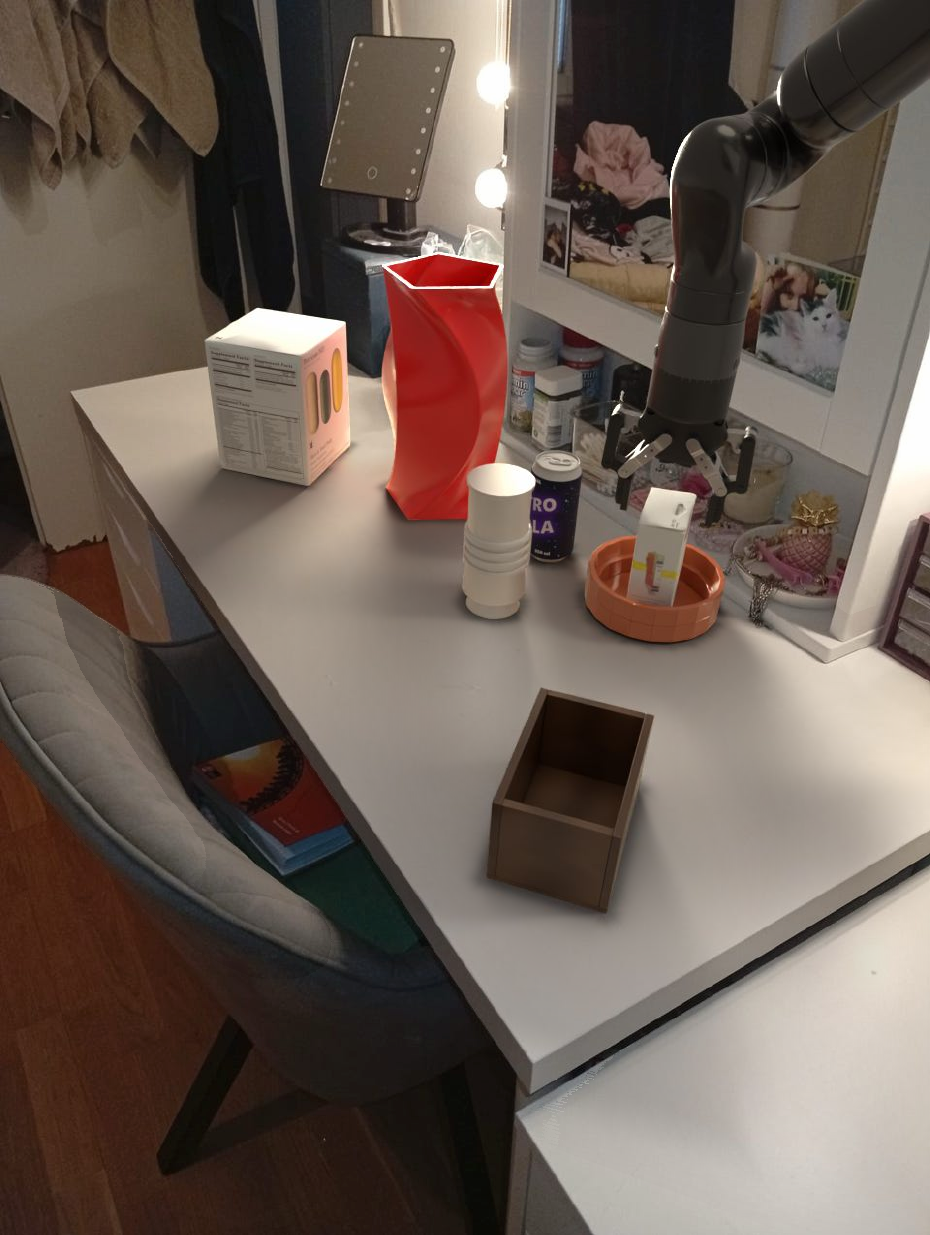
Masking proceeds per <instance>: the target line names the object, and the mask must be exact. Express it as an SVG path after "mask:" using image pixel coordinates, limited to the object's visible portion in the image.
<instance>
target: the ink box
mask: <svg viewBox="0 0 930 1235" xmlns="http://www.w3.org/2000/svg"><path fill="white" fill-rule="evenodd" d="M697 497H698V495H697V494H695V493H693V492H686V491H678V490H673V489H672V490H671V489H665V488H660V487H654V486H651V488H650V491H649V493H648V496H647V499H646V501H645V503H644V506H643V509H642V511H641V514H640V516H639V519H638V522H637V530H636V535H637V536H636V543H635V549H634V555H633V561H632V567H631V573H630V579H629V586H628V592H627V598H628V599H630V600H632V601H635V602H639V603H643V604H648V605H653V606H662V607H673V603H674V598H675V594H676V589H677V585H678V581H679V576H680V572H681V567H682V562H683V557H684V552H685V548H686V543H687V542H688V536H689V533H690V527H691V523H692V516H693V511H694V506H695V505H696V500H697ZM687 544H688V543H687Z"/></svg>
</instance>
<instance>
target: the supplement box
mask: <svg viewBox="0 0 930 1235" xmlns="http://www.w3.org/2000/svg"><path fill="white" fill-rule="evenodd" d="M204 349H205V355H206V356H205V357H206V363H207V370H208V378H209V380H208V381H209V386H210V395H211V402H212V410H213V416H214V426H215V432H216V440H217V449H218V456H219V465H220V468H221V469H224V470H228V471H233V472H239V473H243V474H249V475H252V476H257V477H261V478H262V477H263V478H267V479H272V480H276V481H281V482H286V483H291V484H295V485H301V486H305V487H310V486H311V485H312V484H313V483H314V482H315V481H316V480H317V479H318V478H319V477H320V476H321V475H322V474H323V473H324V472H325V471H326V470H327V469H328V468H329V467H330V466H331V465H332V464H333V463H334V462H335V461H336V460H338V458H339V457H341V455H342V454H344V453H345V451H346V450H347V449H348V448H350V446H351V427H350V424H351V423H350V402H349V381H348V379H349V376H348V352H347V350H348V349H347V326H346V321H342V320H337V319H329V318H323V317H316V316H312V315H311V316H310V315H305V314H297V313H292V312H287V311H279V310H273V309H266V308H260V307H257V308H255V309H253V310H252V311H250V312H248V313H247V314H245V315H243V316H242V317H240V318H239V319H236V320H235V321H233V322H231V323H229V324H228V325H227V326H226V327H224V328H222V329H221V330H219V331H217V332H216V333H214V334H212V335H210V336H209V337H208V338H206V339H204Z"/></svg>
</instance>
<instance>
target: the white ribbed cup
mask: <svg viewBox="0 0 930 1235" xmlns="http://www.w3.org/2000/svg"><path fill="white" fill-rule="evenodd" d="M467 485H468V487H469V501H468V519H466V521H465V523H464V525H463V532H464V533H463V546H462V548H463V554H462V563H463V564H464V570H463V577H462V583H461V587H462V588H461V590H462V591H463V593H464V594H465V596H466V599H465V606H466V608H467V610H468V611H470V612H471V613H472V614H474V615H476V616H477V617H480V618H482V619H483V618H484V619H488V620H500V619H505V618H509V617H511V616H513V615H514V614H516V613H517V612H518V611H519V609H520V606H521V603H520V602H521V601H520V600H521V599H522V598H523V596H525V593H526V582H527V581H526V569H527V568H528V565H529V564H530V558H531V554H530V550H531V539H532V527H531V525H530V523H529V518H530V507H531V495H532V491H533V490H534V487H535V478H534V476H533V475H532V474H531V471H529V470H527V469H525V468H523V467H521V466H518V465H514V464H509V463H500V462H497V463H496V462H495V463H493V464H485V465H482V466H478V467H476V468H474V469H472V470H471V471H470V472H469V473H468V475H467Z"/></svg>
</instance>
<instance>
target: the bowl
mask: <svg viewBox="0 0 930 1235" xmlns="http://www.w3.org/2000/svg"><path fill="white" fill-rule="evenodd" d="M636 536H637V534H635V535H628V536H627V535H626V536H621V537H619V536H618V537H616V538H614V539H611V540H608V541H605V542H603V543H602V544H601V545H600V546H598V547H597V548H596V549H595V550H593V552H592V554H591V556H590V558H589V559H588V564H587V570H586V578H585V586H584V592H583V593H584V600H585V606H586V607H587V609H588V610H589V611H590V613H591V614H592V616H593V617H594V618H595V619H596V620H597V621H599V622H600V623H601V624H603V625H604V626H605V627H607V629H610V630H612V631H615V632H617V633H619V634H621V635H624V636H626V637H629V638H633V639H636V640H641V641H645V642H649V643H650V642H652V643H676V642H682V641H688V640H691V639H694V638H696V637H699V636H700V635H702V634H705V633H707V632H708V631H709V629H710V628H711V627H712V626H713V625H714V624H715V623H716V621H717V618H718V614H719V608H720V605H721V602H722V601H721V600H722V596H723V593H724V588H725V584H726V577H725V575H724V572H723V568H722V567H721V565H719V563H718V562H716V560H715V559H714V558H713V557H712V556H711V555H710V554H708V553H706V552H705V551H703V550H702V549H700V548H699V547H697V546H694V545H692V544H689V543H686V548H685V552H684V557H683V562H682V567H681V572H680V576H679V581H678V585H677V589H676V594H675V598H674V603H673V607H662V606H653V605H648V604H643V603H639V602H635V601H632V600H630V599H628V598H627V592H628V586H629V579H630V573H631V567H632V561H633V555H634V549H635V543H636Z"/></svg>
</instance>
